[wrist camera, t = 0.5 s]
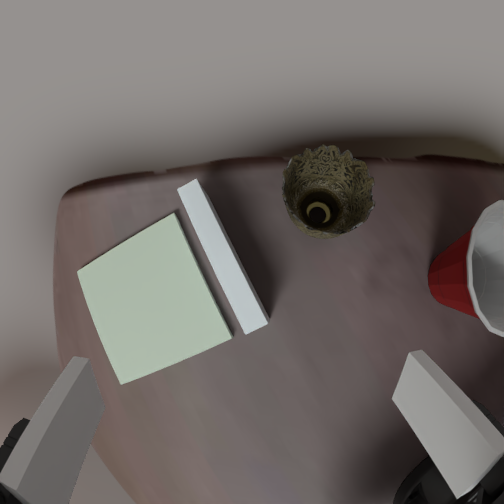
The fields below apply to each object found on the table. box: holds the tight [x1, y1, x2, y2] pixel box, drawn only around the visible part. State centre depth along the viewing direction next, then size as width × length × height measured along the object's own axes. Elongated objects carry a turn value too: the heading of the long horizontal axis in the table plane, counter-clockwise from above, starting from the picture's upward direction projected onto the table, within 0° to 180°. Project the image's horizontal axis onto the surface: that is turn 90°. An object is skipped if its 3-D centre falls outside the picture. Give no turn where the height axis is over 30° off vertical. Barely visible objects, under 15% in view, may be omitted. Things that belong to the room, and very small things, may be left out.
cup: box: [282, 144, 375, 239], centre depth 25 cm, size 8×7×8 cm
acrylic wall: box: [177, 179, 270, 334], centre depth 26 cm, size 14×2×5 cm, turn 26°
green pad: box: [77, 213, 233, 385], centre depth 28 cm, size 14×14×1 cm
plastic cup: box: [428, 200, 504, 337], centre depth 20 cm, size 11×11×12 cm
